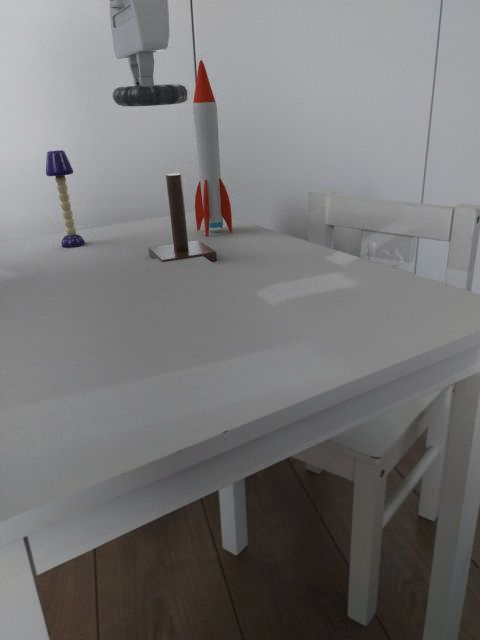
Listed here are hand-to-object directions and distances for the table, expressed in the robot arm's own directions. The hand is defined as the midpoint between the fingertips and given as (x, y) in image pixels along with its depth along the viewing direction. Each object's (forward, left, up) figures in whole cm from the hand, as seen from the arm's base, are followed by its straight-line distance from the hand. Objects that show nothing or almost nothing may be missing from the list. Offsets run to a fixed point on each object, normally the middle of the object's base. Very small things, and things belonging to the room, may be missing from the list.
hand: (144, 90), depth 83 cm
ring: (0, -4, -1) cm, 4 cm away
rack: (+3, 0, -26) cm, 26 cm away
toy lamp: (-12, +21, -26) cm, 35 cm away
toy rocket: (+14, +15, -26) cm, 33 cm away
